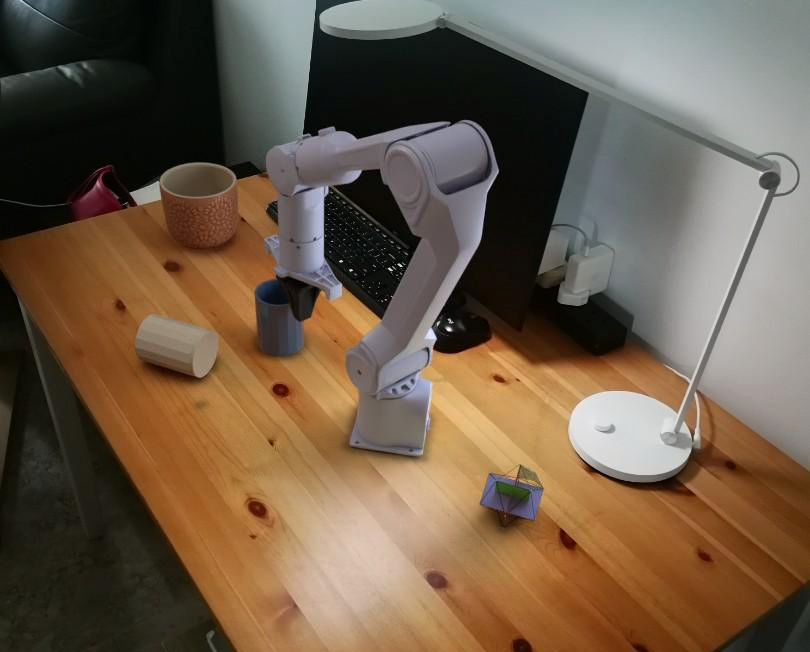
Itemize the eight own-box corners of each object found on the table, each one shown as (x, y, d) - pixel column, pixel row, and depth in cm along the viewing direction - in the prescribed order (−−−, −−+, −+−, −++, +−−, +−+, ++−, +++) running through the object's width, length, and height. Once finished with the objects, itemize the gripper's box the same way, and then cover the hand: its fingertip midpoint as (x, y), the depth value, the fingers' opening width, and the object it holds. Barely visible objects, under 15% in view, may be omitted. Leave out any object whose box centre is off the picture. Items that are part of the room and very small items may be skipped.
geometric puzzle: (529, 543, 96) (547, 476, 96) (471, 525, 98) (488, 459, 97) (533, 530, 103) (550, 468, 103) (479, 514, 105) (495, 452, 104)
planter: (256, 234, 146) (252, 177, 139) (206, 265, 138) (200, 206, 131) (202, 211, 151) (196, 154, 144) (151, 240, 143) (142, 181, 136)
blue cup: (308, 332, 127) (307, 282, 121) (297, 359, 122) (296, 309, 116) (264, 325, 127) (262, 275, 121) (252, 353, 122) (248, 302, 116)
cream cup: (221, 326, 118) (165, 309, 120) (195, 336, 112) (137, 319, 114) (215, 370, 120) (160, 353, 122) (190, 383, 114) (132, 365, 116)
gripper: (242, 216, 109) (248, 302, 118) (310, 267, 101) (311, 355, 110) (287, 201, 113) (289, 285, 122) (356, 248, 105) (353, 335, 114)
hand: (302, 317), depth 116 cm, fingers closed
